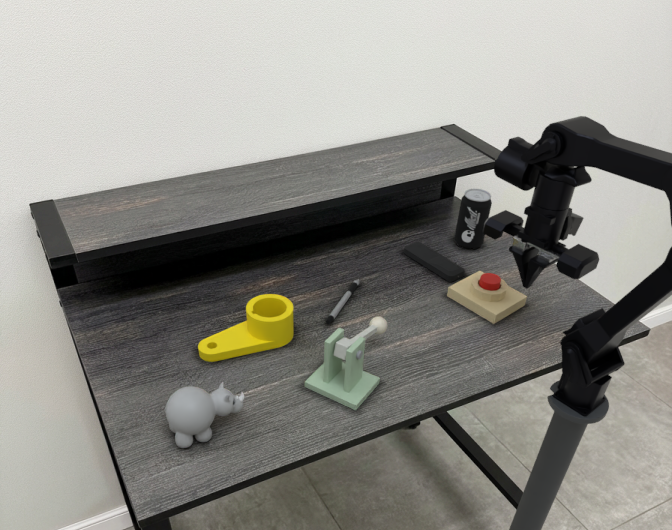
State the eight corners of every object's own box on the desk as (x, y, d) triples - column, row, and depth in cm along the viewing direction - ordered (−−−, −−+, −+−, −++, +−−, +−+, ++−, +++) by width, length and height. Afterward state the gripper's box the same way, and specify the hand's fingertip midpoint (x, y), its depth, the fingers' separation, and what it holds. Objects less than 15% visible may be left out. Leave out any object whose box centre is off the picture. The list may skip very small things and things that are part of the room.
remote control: (401, 254, 139) (450, 282, 130) (401, 247, 138) (451, 275, 129) (417, 247, 142) (466, 275, 133) (418, 240, 141) (467, 268, 132)
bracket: (329, 361, 110) (331, 316, 104) (379, 383, 107) (384, 338, 100) (304, 387, 105) (304, 341, 99) (355, 410, 101) (359, 365, 95)
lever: (372, 327, 113) (376, 311, 111) (388, 333, 111) (392, 317, 110) (330, 356, 101) (333, 339, 99) (347, 363, 100) (350, 346, 98)
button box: (524, 305, 125) (529, 288, 123) (493, 324, 120) (498, 307, 118) (477, 279, 132) (481, 262, 129) (446, 296, 127) (449, 279, 124)
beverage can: (450, 246, 142) (459, 197, 134) (457, 233, 146) (466, 185, 138) (479, 253, 140) (489, 203, 132) (485, 239, 145) (495, 191, 137)
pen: (324, 324, 118) (324, 318, 117) (356, 280, 130) (356, 275, 129) (331, 326, 118) (331, 320, 117) (362, 282, 129) (362, 276, 129)
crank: (280, 315, 120) (279, 289, 116) (301, 339, 114) (301, 313, 111) (191, 343, 112) (187, 316, 108) (209, 370, 107) (206, 343, 103)
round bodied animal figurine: (253, 434, 97) (250, 394, 91) (175, 456, 93) (168, 416, 87) (239, 404, 101) (236, 364, 96) (165, 423, 98) (157, 383, 92)
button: (503, 286, 124) (505, 279, 123) (490, 293, 122) (492, 286, 121) (487, 278, 126) (489, 270, 125) (474, 284, 124) (476, 277, 123)
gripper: (632, 210, 96) (600, 294, 106) (531, 168, 106) (510, 249, 116) (593, 232, 90) (563, 319, 100) (490, 186, 100) (472, 269, 111)
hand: (526, 286), depth 107 cm, fingers closed
